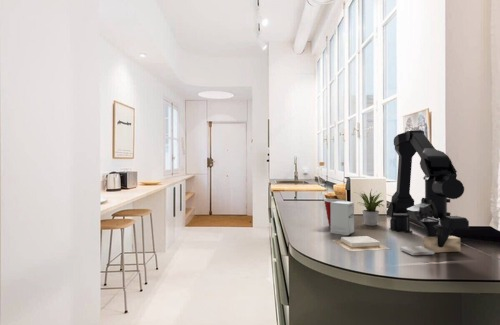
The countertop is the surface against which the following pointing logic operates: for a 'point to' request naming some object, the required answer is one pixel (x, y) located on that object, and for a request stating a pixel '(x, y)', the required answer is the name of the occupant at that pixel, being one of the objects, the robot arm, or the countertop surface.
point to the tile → (360, 241)
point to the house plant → (371, 209)
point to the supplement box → (342, 217)
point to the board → (360, 247)
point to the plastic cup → (328, 208)
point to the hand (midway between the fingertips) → (436, 245)
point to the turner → (434, 246)
